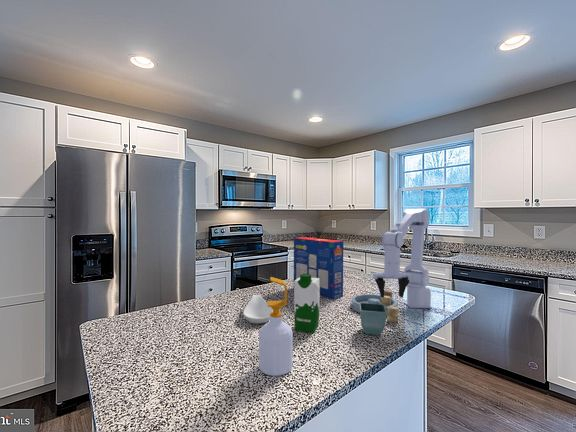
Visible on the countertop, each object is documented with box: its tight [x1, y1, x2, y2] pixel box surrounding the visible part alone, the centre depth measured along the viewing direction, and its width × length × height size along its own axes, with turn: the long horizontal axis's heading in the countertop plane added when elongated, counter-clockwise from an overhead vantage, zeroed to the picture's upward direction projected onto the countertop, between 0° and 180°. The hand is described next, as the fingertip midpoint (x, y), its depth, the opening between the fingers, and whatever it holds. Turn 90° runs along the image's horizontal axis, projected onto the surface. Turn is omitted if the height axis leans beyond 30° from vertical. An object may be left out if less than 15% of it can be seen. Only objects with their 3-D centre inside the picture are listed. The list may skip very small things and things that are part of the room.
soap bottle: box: [258, 276, 294, 377], centre depth 80 cm, size 9×9×25 cm
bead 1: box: [384, 289, 393, 298], centre depth 139 cm, size 4×4×5 cm
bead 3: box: [386, 306, 399, 324], centre depth 115 cm, size 4×4×5 cm
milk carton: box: [293, 274, 321, 334], centre depth 107 cm, size 9×9×20 cm
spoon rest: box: [242, 294, 273, 325], centre depth 120 cm, size 24×12×7 cm, turn 11°
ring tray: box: [350, 293, 399, 317], centre depth 130 cm, size 20×20×4 cm
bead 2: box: [381, 296, 391, 306], centre depth 126 cm, size 4×4×5 cm
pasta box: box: [293, 236, 344, 300], centre depth 155 cm, size 28×8×28 cm, turn 42°
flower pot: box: [359, 303, 387, 336], centre depth 104 cm, size 9×9×9 cm
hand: (391, 296), depth 116 cm, fingers open, 7 cm apart
